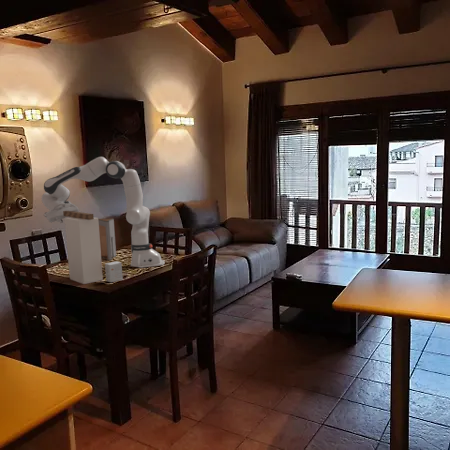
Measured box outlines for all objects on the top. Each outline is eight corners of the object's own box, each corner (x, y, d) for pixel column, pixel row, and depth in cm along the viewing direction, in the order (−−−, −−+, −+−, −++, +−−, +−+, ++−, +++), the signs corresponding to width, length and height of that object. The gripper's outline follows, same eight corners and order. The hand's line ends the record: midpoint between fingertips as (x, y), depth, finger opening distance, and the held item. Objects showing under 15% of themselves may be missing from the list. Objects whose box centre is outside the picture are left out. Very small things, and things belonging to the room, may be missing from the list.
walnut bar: (63, 216, 288) (63, 211, 288) (68, 215, 290) (67, 210, 290) (88, 219, 265) (88, 214, 265) (93, 219, 267) (93, 214, 267)
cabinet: (98, 256, 347) (95, 218, 343) (110, 254, 352) (108, 217, 348) (109, 260, 330) (106, 221, 326) (122, 258, 336) (119, 219, 332)
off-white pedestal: (69, 279, 283) (64, 218, 277) (88, 275, 291) (83, 215, 285) (84, 284, 270) (78, 220, 264) (102, 279, 278) (98, 217, 272)
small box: (118, 278, 280) (117, 261, 279) (122, 279, 276) (121, 262, 275) (106, 280, 275) (104, 263, 274) (110, 282, 271) (109, 264, 270)
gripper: (41, 209, 293) (52, 220, 285) (71, 200, 306) (83, 210, 298) (42, 217, 296) (53, 228, 289) (72, 208, 309) (83, 218, 302)
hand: (68, 219), depth 294 cm, fingers open, 8 cm apart
